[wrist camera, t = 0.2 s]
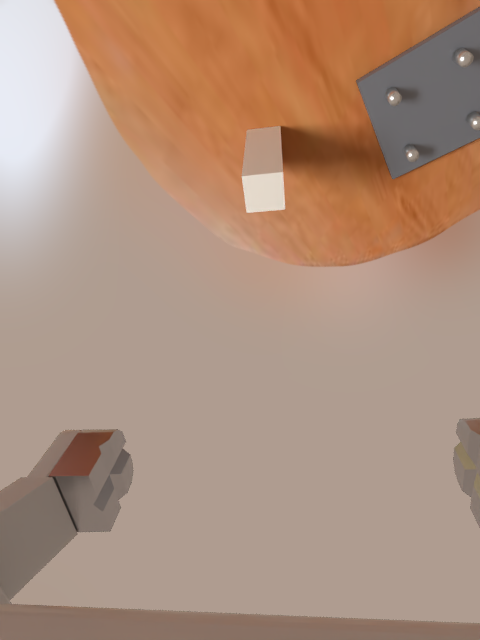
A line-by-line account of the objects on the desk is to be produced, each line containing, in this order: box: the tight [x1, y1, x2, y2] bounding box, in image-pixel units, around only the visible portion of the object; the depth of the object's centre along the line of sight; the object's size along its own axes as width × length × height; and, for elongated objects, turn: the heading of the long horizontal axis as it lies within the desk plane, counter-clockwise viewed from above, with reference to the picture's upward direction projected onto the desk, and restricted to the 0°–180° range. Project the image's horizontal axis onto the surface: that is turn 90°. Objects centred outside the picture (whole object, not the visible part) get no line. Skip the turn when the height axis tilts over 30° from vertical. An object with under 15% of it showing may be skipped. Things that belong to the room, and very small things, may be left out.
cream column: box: [242, 126, 285, 213], centre depth 51 cm, size 4×4×14 cm
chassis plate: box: [356, 7, 480, 179], centre depth 50 cm, size 14×14×4 cm
